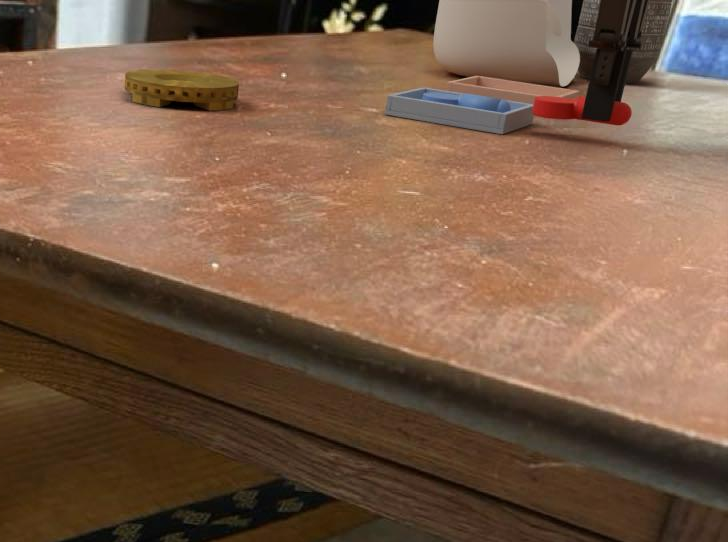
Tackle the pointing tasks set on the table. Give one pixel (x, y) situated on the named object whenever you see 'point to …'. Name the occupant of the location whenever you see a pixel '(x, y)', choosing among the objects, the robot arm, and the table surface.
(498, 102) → the blue spoon
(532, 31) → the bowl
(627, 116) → the red spoon
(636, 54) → the planter
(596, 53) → the robot arm
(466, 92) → the rose tray
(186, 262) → the table surface
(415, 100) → the blue tray
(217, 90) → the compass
